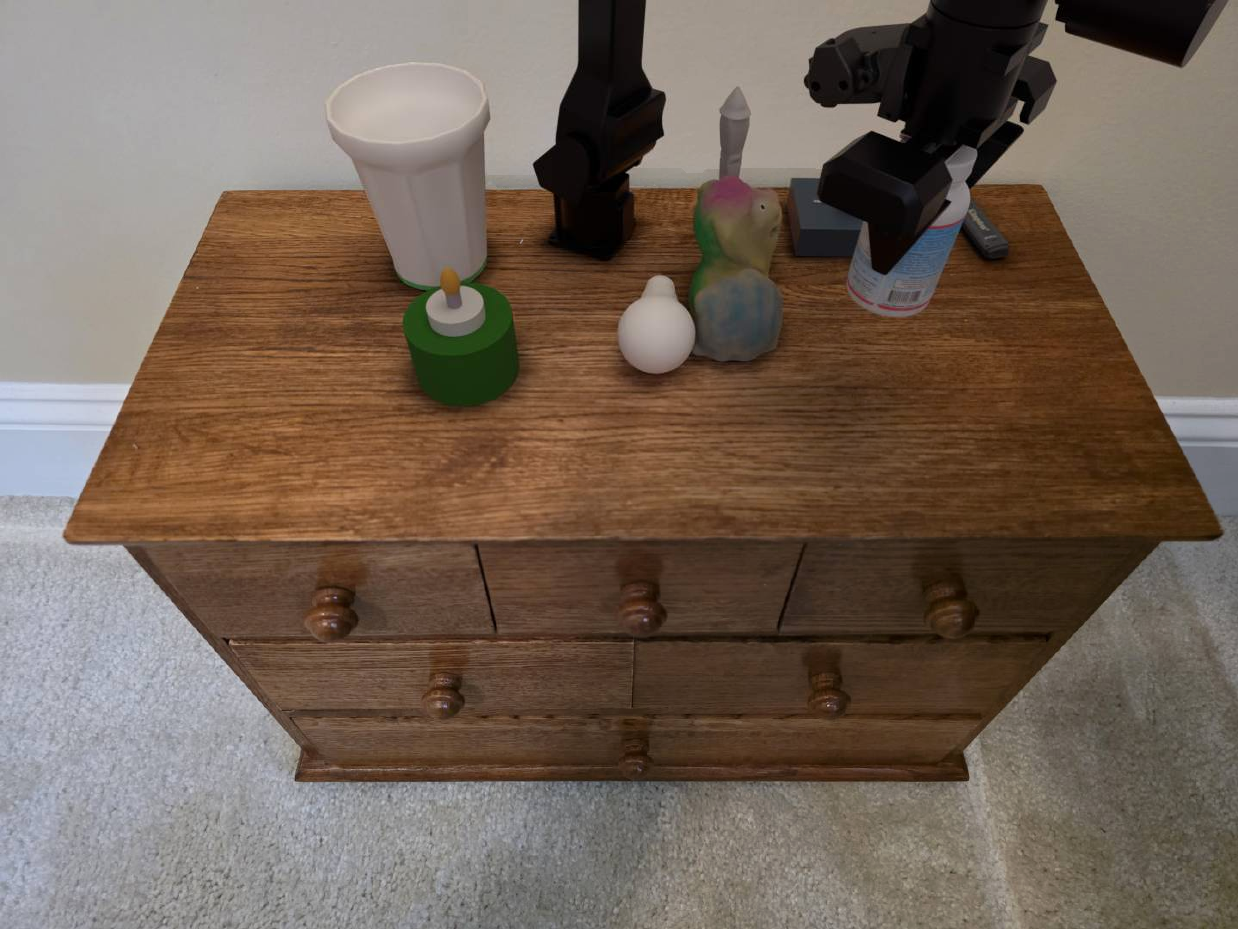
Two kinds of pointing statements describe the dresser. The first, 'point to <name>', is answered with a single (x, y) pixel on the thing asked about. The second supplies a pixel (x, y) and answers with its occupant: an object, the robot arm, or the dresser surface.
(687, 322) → the lightbulb
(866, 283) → the pill bottle
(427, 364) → the candle
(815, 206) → the dial base
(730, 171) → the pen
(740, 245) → the sculpture
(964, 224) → the usb stick
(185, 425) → the dresser surface
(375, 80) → the cup
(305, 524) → the dresser surface
